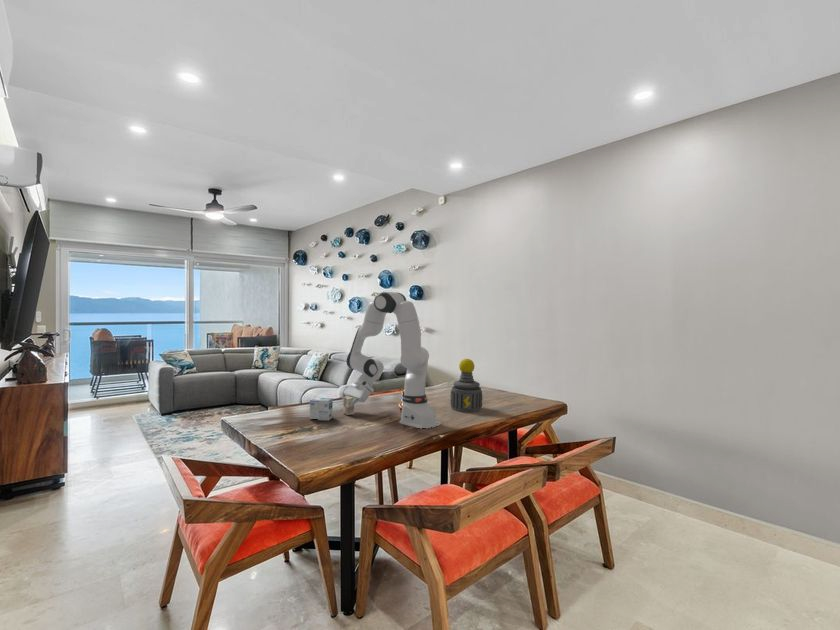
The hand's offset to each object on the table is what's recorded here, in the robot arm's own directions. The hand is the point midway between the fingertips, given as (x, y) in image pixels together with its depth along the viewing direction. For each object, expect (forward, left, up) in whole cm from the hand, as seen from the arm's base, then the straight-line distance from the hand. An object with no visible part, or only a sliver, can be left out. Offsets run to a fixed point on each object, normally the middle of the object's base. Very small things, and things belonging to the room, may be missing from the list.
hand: (347, 404), depth 233 cm
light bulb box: (0, +15, -6) cm, 17 cm away
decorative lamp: (-28, -65, -6) cm, 70 cm away
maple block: (0, -1, -5) cm, 5 cm away
